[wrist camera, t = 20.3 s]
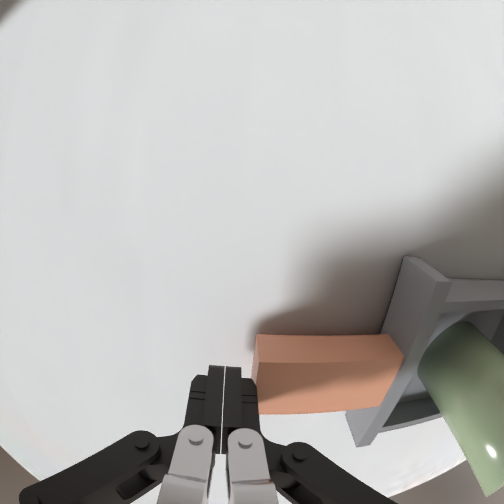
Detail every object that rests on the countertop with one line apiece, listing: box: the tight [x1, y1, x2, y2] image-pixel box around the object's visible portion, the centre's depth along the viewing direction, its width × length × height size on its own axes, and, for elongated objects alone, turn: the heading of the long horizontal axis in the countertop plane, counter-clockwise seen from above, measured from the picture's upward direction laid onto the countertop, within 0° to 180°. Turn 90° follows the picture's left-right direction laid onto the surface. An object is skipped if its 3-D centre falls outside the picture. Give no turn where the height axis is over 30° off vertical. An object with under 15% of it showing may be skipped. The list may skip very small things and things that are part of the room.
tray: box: [251, 256, 504, 447], centre depth 14 cm, size 18×12×3 cm, turn 84°
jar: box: [417, 321, 504, 497], centre depth 9 cm, size 5×5×10 cm
